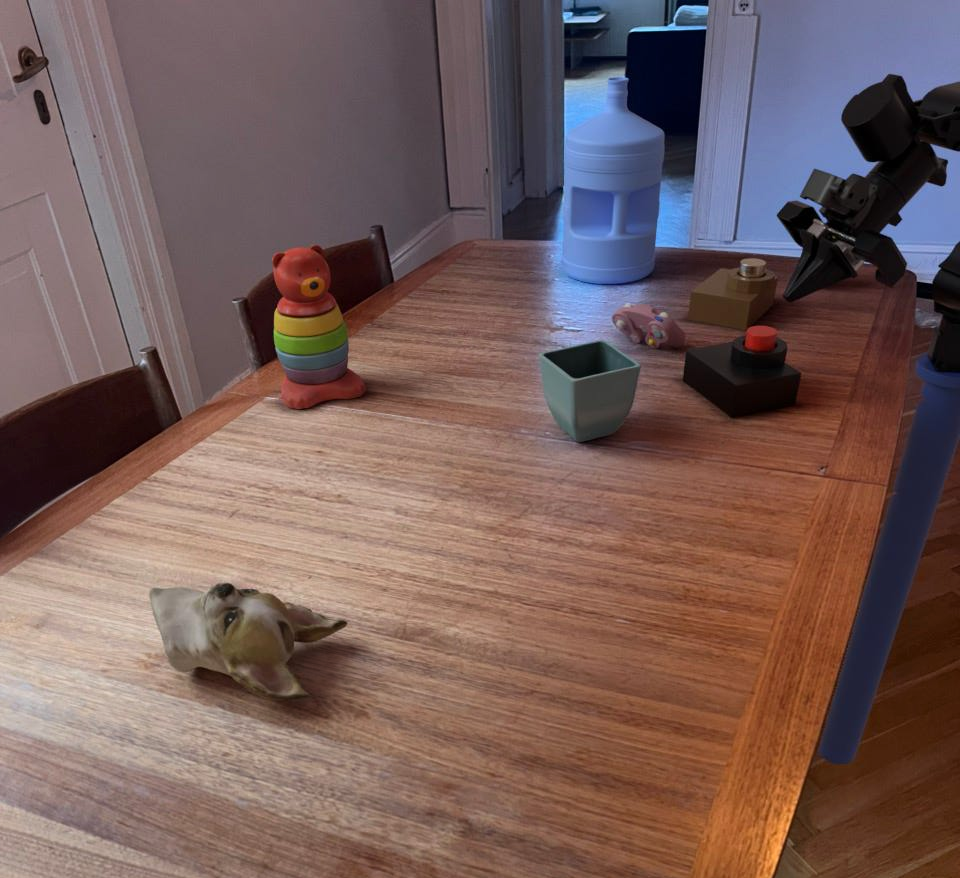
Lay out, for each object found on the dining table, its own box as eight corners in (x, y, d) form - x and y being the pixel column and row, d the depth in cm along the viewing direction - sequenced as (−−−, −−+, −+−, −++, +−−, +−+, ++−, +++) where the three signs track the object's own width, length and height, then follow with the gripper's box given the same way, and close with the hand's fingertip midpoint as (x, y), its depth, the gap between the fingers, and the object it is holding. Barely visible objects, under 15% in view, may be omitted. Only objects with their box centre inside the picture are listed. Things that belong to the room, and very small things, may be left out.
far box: (779, 305, 140) (786, 265, 136) (752, 331, 132) (759, 289, 128) (717, 295, 144) (722, 256, 140) (687, 320, 136) (692, 278, 133)
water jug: (553, 259, 161) (557, 74, 143) (641, 254, 162) (655, 68, 144) (570, 288, 149) (576, 89, 131) (664, 282, 150) (683, 84, 132)
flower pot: (570, 454, 105) (573, 380, 99) (536, 424, 111) (537, 352, 105) (637, 438, 107) (643, 364, 102) (600, 409, 114) (603, 338, 108)
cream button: (767, 274, 134) (769, 260, 133) (758, 281, 132) (761, 267, 131) (743, 271, 136) (745, 256, 134) (734, 278, 133) (736, 263, 132)
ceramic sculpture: (176, 536, 77) (345, 563, 75) (194, 616, 83) (352, 643, 80) (110, 613, 69) (297, 645, 67) (135, 695, 75) (308, 728, 73)
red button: (763, 339, 115) (766, 323, 114) (780, 350, 112) (783, 333, 111) (738, 344, 114) (741, 328, 113) (754, 354, 111) (757, 338, 110)
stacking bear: (289, 412, 116) (264, 267, 105) (270, 383, 123) (244, 245, 112) (370, 395, 119) (354, 253, 108) (346, 368, 126) (329, 232, 115)
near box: (748, 368, 122) (755, 323, 118) (802, 404, 113) (811, 357, 109) (682, 380, 120) (687, 335, 116) (731, 418, 111) (738, 370, 107)
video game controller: (614, 348, 133) (603, 310, 127) (632, 325, 134) (622, 288, 128) (672, 364, 127) (663, 327, 122) (690, 341, 128) (682, 303, 123)
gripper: (805, 125, 108) (710, 235, 112) (913, 157, 94) (800, 280, 99) (846, 191, 115) (755, 292, 119) (952, 228, 101) (845, 341, 105)
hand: (786, 299), depth 110 cm, fingers closed
